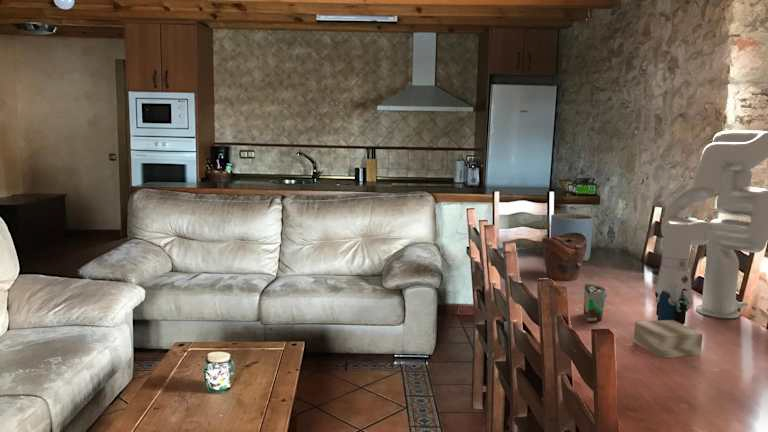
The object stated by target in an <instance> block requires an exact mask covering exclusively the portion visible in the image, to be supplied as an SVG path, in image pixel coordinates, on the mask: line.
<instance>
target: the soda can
mask: <svg viewBox="0 0 768 432" xmlns="http://www.w3.org/2000/svg"><path fill="white" fill-rule="evenodd" d="M679 301H682V299H679ZM681 306H682V304H680V307H681ZM675 311H677V309H676V305H675V302H673V301H672V299H671V297H670V294H669V293H666V292H663V291H662V293H661V294H660V296H659V308H658V315H657V320H656V321H660V320H674V319H675Z"/></svg>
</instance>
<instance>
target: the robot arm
mask: <svg viewBox="0 0 768 432" xmlns="http://www.w3.org/2000/svg"><path fill="white" fill-rule="evenodd" d="M767 159H768V131H767V130H766V131H765V130H764V131H763V130H725V131H720V132H717V133H716V134H715V135H714V137H713V138H712V143H709V144H708V145H706V146H705V147H704V149H703V151H702V155H701V157H700V160H699V163H698V165H697V168H696V170H695V173H694V175H693V176H694V177H693V178H692V182H691V184H690V185H689V186H688V187H687V188H686V189H683V190H682V191H681V192H680V193H678V194H677V195H676V196H675V197H674V198H673V199H672V200H671V201H670V202H669V204H668V205H667V206H666V207H667V208H666V210H665V213H664V216H663V218H662V221H661V225H660V234H661V236H662V247H661V259H660V260H661V261H660V262H661V263H660V266H659V272H658V276H657V281H656V283H657V284H656V285H653V290H654V296H655V302H656V313H655V315H656V316H658V308H659V296H660V294H661V293H662V291H663V292H666V293H669V294H670V297H671V299H672V301H673V302H675V305H676V309H677V311H675V319H674V320H675V321H677V322H679V323H681V324H683V325H685V324H686V316H687V312H688V311H689V309H691V307H692V305H693V303H694V301H693V299H692V274H691V270H690V258H691V248H692V247H691V246H703V245H705V246H706V251H705V253H706V257H705V268H704V277H703V278H704V279H703V287H702V288H703V289H702V301H701V304H698V305H697V306H696V308H695V309H696V311H697V313H699V314H701V315H704V316H708V317H713V318H718V319H737V318H739V317H740V314H741V313H740V311H739V310H738V309H740V308H741V309H744V308H745V309H747V308H748V306H749V303H748V302H747V301H740V302H739V300H737V299H736V298H737V287H738V278H739V268H740V261H739V257H738V256H737V253H736V252H735V251H741V252H747V253H757V254H758V253H760V252H762V251H763V250H764V249H765V247H766V246H767V243H768V189H767V188H763V187H762V188H760V187H751V183H752V178H753V169H754V168H756V167H758V166H759V165H761V163H762V162H764V161H765V160H767ZM713 198H716V209H717V211H718V212H719V213H721V214H722V215H727V216H735V217H742V218H749V219H750V221H745V220H740V219H739V220H738V219H731V218H722V217H721V218H714V219H712V220H710V221H709V222H707V221H705V220H701V219H694V218H687V217H681V215H682V214H683V212H684V211H685V210H686V209H687V208H689V207H690V206H691V207H692V206H693V205H695V204H697V203H701V202H704V201H707V200H710V199H713ZM679 299H682V301H679ZM680 304H682V306H681V307H680Z"/></svg>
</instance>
